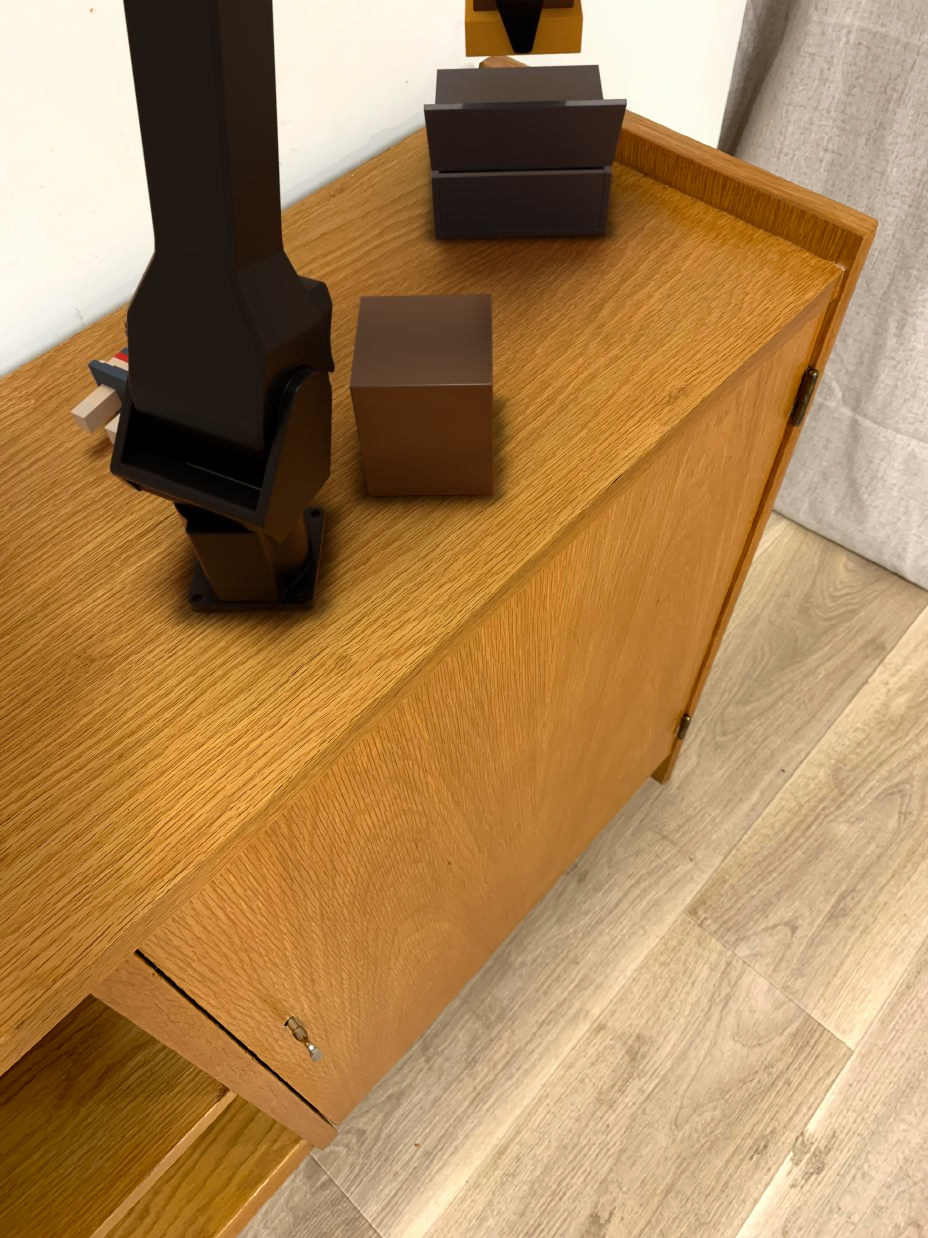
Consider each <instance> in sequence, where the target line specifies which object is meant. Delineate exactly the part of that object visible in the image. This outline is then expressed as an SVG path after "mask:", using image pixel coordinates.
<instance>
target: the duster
mask: <svg viewBox="0 0 928 1238" xmlns="http://www.w3.org/2000/svg"><path fill="white" fill-rule="evenodd" d="M582 5H583V4H582V0H544V3H543V8H542V12H541V16H540V20H539V24H538V28H537V33H536V37H535V41H534V45H533V49H532V51H531V52H530V53H528V54H516V53H514V51H513V49H512V46H511V44H510V41H509V38H508V36H507V33H506V30H505V27H504V25H503V22H502V19H501V17H500V14H499V11H498V9H497V6H496V3H495V0H464V46H465V47H464V48H465V49H464V50H465V57H466V58H480V57H483V58H485V57H509V56H512V57H513V56H539V55H540V56H541V55H567V54H568V55H569V54H570V55H571V54H581V53H582V42H583V27H584V14H583V6H582Z"/></svg>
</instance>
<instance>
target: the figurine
mask: <svg viewBox="0 0 928 1238" xmlns="http://www.w3.org/2000/svg"><path fill="white" fill-rule="evenodd" d="M123 325H124V327H125V330H124V333H125V336H126V337H127V321H125V322H124V323H123ZM87 366H88V371H89V374H90V376H91V378H92V380H93V381H94V384H95V386H96V387H97V388H95V390H94V391H92V393H90V394H89V395H87V396H86V397H85V398H84V399H83V400H82V401H81V402H79V404H78V405H76V406H75V407H74V408H73V409H72V410H70V415H71V416H72V418H73V420H74V422H75V423H76V425H77V427H78V428H79V429H81V430H83V431H85V432H87V433H90V434H92V435H93V433H95V432H96V431H97V430H98V429H99V428H100V427H101V426H102V425H104V423H106V421H108V420H109V419H110V418H111V417H113V415H116V416H115V417H114V418H113V419H112V420H111V421H110V422H109V423H108V424H106V425H105V426H104V427H103V429H104V431H105V433H106V435H107V436H108V438H109V441H110V442H111V444H112V445H114V442H115V437H116V432H117V427H118V422H119V417H120V411H121V406H122V401H123V396H124V391H125V386H126V380H127V375H128V348H127V346H124V347H123V348H122V349H121V350H119V352H118V353H116V355H114V356H113V357H112V358H111V359H109V360H108V361H106V360H103V359H99V360H97V359H95V358H94V359H92V360H91V361H90V362H89V363H87Z"/></svg>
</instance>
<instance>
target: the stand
mask: <svg viewBox="0 0 928 1238" xmlns="http://www.w3.org/2000/svg"><path fill="white" fill-rule="evenodd" d="M493 318H494V317H493V294H492V293H459V294H457V293H456V294H455V293H454V294H450V293H449V294H409V295H406V294H403V295H402V294H401V295H362V296H360V297H359V305H358V313H357V319H356V327H355V329H356V330H355V338H354V345H353V354H352V362H351V370H350V378H349V385H348V387H349V393H350V398H351V403H352V404H351V405H352V409H353V414H354V415H353V416H354V420H355V427H356V431H357V437H358V442H359V447H360V453H361V454H360V455H361V458H362V464H363V470H364V474H365V480H366V486H367V491H368V495H369V496H370V497H379V496H380V497H382V496H384V497H386V496H390V497H391V496H393V497H394V496H462V495H466V496H467V495H469V496H470V495H471V496H472V495H494V493H495V483H494V482H495V477H494V474H495V473H494V472H495V471H494V469H495V468H494V466H495V465H494V463H495V462H494V460H495V459H494V457H495V456H494V455H495V453H494V451H495V450H494V339H493V338H494V337H493V336H494V335H493V333H494V332H493V327H494V325H493V324H494V323H493V321H494V320H493Z"/></svg>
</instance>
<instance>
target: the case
mask: <svg viewBox="0 0 928 1238" xmlns="http://www.w3.org/2000/svg"><path fill="white" fill-rule="evenodd" d="M434 95H435V96H434V104H454V103H491V102H527V101H564V100H600V99H604V92H603V87H602V79H601V71H600V66H599V64H575V65H573V64H572V65H571V64H569V65H538V66H506V67H505V66H503V67H469V68H465V67H463V68H437V69H436V79H435V94H434ZM430 176H431V177H430V179H431V193H432V195H431V197H432V209H433V225H434V226H433V227H434V238H435V239H475V238H477V239H478V238H479V239H480V238H516V237H517V238H518V237H519V238H520V237H522V238H523V237H564V236H567V237H569V236H605V235H606V232H607V222H608V216H609V215H608V213H609V204H610V197H611V188H612V187H611V186H612V176H613V170H612V166H605V167H565V168H525V169H484V170H444V171H431V175H430Z"/></svg>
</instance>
